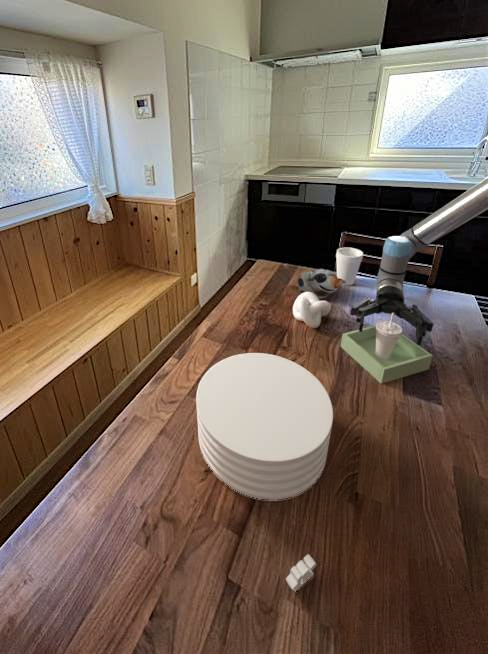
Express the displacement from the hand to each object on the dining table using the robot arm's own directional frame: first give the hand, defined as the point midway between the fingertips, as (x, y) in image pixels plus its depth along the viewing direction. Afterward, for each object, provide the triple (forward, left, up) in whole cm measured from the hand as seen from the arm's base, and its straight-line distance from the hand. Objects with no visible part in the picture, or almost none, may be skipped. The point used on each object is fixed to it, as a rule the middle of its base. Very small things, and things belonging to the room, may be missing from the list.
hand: (389, 334), depth 89 cm
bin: (+2, -2, -10) cm, 10 cm away
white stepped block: (-34, +48, -10) cm, 60 cm away
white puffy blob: (+24, +6, -10) cm, 27 cm away
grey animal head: (+38, -7, -10) cm, 40 cm away
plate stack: (-9, +42, -10) cm, 44 cm away
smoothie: (+2, -2, -9) cm, 10 cm away
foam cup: (+42, -22, -10) cm, 48 cm away
